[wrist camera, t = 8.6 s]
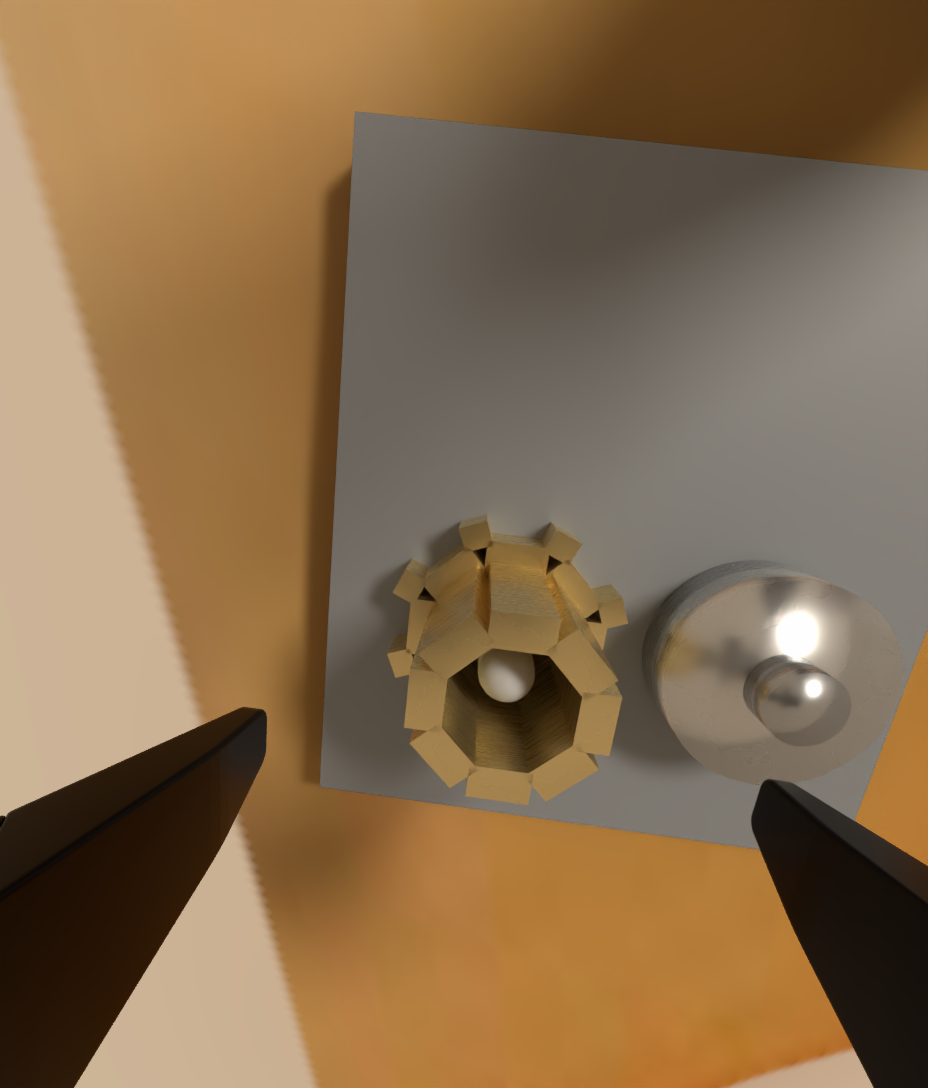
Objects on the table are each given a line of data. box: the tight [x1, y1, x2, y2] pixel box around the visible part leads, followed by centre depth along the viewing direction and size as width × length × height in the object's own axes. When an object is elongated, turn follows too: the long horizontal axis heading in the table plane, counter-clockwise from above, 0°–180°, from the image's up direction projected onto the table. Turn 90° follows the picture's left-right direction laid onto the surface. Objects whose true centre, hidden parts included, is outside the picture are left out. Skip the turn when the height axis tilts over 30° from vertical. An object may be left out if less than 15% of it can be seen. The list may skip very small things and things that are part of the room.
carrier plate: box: [320, 112, 928, 850], centre depth 12 cm, size 18×20×5 cm
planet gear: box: [387, 514, 628, 805], centre depth 12 cm, size 7×7×5 cm
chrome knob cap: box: [642, 560, 903, 785], centre depth 13 cm, size 6×6×3 cm
